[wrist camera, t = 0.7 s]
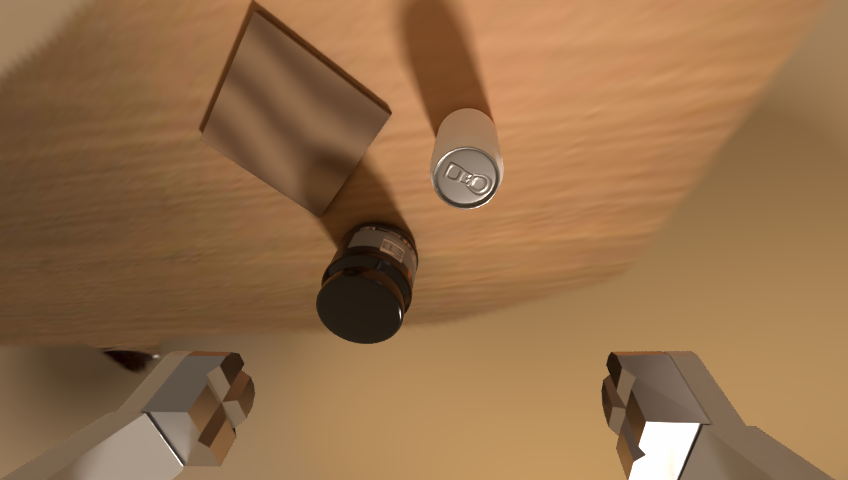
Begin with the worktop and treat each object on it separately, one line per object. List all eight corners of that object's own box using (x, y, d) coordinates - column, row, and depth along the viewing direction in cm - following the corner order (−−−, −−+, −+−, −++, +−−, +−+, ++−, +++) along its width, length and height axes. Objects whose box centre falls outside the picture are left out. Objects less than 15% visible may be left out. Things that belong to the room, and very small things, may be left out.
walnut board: (258, 10, 38) (254, 10, 37) (391, 113, 42) (390, 115, 41) (204, 137, 46) (199, 139, 45) (322, 214, 50) (319, 218, 49)
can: (478, 174, 45) (481, 225, 35) (427, 150, 44) (415, 195, 34) (507, 123, 42) (520, 162, 31) (453, 96, 41) (448, 127, 30)
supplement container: (348, 283, 55) (321, 346, 45) (335, 217, 50) (301, 273, 40) (421, 284, 54) (411, 349, 44) (416, 217, 49) (403, 274, 38)
